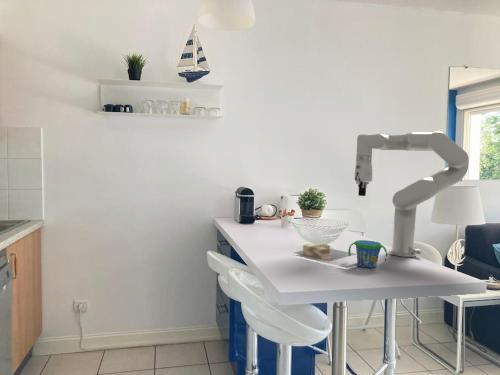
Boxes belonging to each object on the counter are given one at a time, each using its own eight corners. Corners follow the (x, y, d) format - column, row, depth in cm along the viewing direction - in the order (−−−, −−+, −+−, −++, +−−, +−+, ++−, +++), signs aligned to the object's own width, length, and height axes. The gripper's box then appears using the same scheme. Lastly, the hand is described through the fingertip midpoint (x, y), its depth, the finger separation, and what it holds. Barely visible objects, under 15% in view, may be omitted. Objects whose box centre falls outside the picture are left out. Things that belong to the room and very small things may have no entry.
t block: (335, 255, 184) (336, 246, 183) (322, 258, 177) (322, 249, 177) (316, 251, 192) (316, 242, 191) (302, 253, 185) (303, 245, 185)
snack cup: (388, 266, 170) (389, 242, 169) (383, 272, 161) (384, 247, 160) (351, 261, 178) (353, 238, 177) (344, 266, 168) (346, 242, 168)
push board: (357, 255, 188) (357, 254, 188) (329, 263, 172) (329, 261, 172) (321, 248, 203) (321, 246, 203) (292, 254, 186) (292, 252, 186)
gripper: (363, 159, 194) (361, 196, 196) (378, 159, 205) (376, 195, 206) (349, 158, 200) (347, 195, 201) (364, 159, 210) (362, 194, 211)
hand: (361, 195), depth 203 cm, fingers closed
